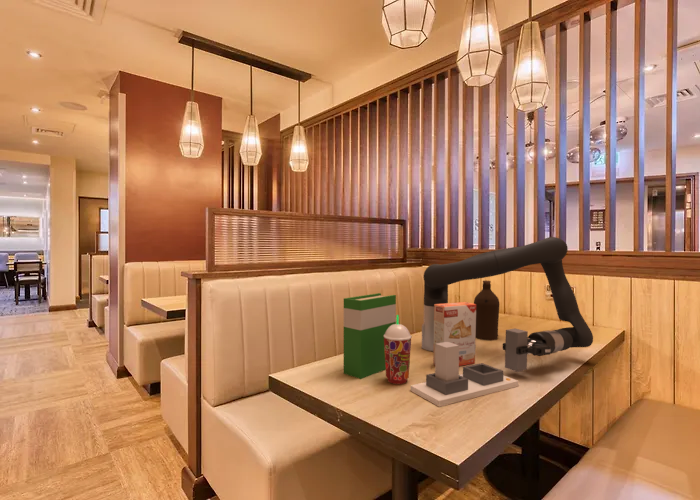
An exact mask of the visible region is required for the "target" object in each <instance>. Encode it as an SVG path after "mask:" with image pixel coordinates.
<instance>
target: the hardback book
mask: <svg viewBox="0 0 700 500" xmlns="http://www.w3.org/2000/svg"><path fill="white" fill-rule="evenodd" d="M396 311H397V295H396V294H390V295H382V293H381V292H379V293H372V294H365V295H358V296H353V297H343V374H344V375H346V376H347V375H348V376H350V377H353V378H356V379H359V380H362V379H365V378H368V377H370V376H373V375H375V374H378V373H381V372H383V371H386V366H385V349H384V334H385V332H386V330H387V329H388V328H389V327H390V326H391V325H393V324H396V318H397V312H396Z"/></svg>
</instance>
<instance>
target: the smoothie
mask: <svg viewBox="0 0 700 500" xmlns="http://www.w3.org/2000/svg"><path fill="white" fill-rule="evenodd" d="M399 319H400V317H399V314H396V324H393V325H391V326H390V327H389V328H388V329H387V330H386V332H385V334H384V349H385V366H386V370H385V377H386V378H387V381H388V382H389V383H391V384H394V385H403V384H406V383H407V381H408V379H409V377H410V363H411V349H412V348H411V347H412V335H411V333H410V331H409V329H408V328H407V327H406V326H405V325H403V324H401V323H399Z"/></svg>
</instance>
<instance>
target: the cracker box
mask: <svg viewBox="0 0 700 500" xmlns="http://www.w3.org/2000/svg"><path fill="white" fill-rule="evenodd" d="M443 342H450V343H453V344H456V345H459V367H462V366H469V365H475V363H476V304H474V302H473V303H472V302H469V301H468V302H467V301H461V302H460V301H459V302H448V303H444V304H434V350H433V351H432V352H433V359H432V361H433V363H432V364H433V365H435V344H436V343H443Z"/></svg>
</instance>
